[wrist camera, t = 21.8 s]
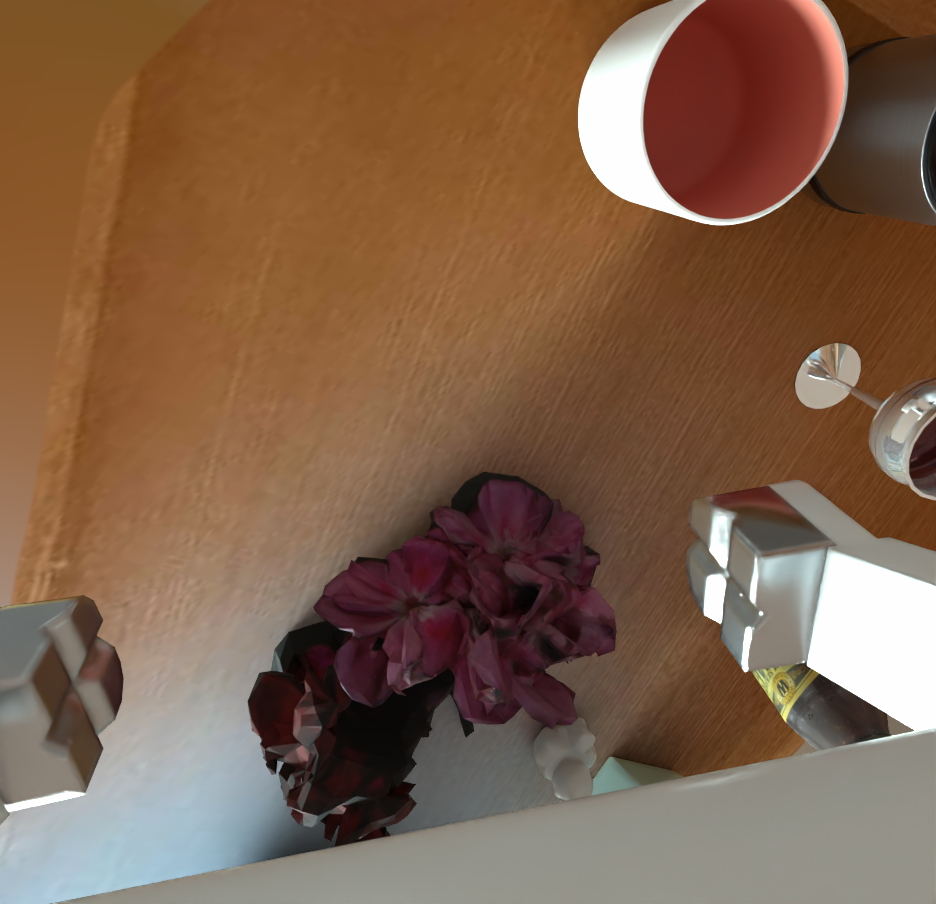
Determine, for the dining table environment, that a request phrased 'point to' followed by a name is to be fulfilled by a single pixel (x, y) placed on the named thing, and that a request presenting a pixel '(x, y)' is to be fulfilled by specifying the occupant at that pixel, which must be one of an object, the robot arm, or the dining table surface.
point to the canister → (885, 134)
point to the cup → (715, 105)
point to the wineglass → (880, 414)
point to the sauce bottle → (821, 707)
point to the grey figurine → (567, 758)
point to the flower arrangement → (429, 652)
